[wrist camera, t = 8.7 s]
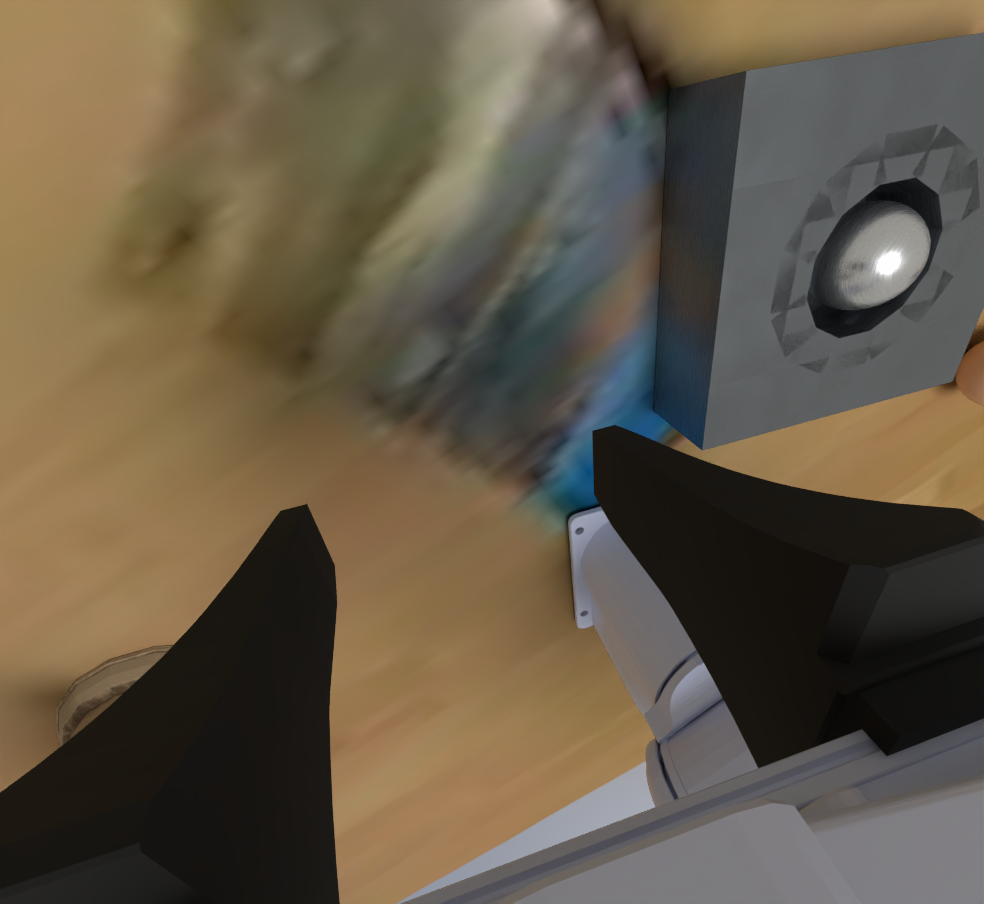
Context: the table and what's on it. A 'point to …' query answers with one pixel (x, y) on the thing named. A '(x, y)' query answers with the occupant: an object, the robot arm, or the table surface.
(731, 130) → the bearing housing
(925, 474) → the table surface
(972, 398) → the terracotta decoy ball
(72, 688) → the lantern
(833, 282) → the steel ball
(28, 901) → the robot arm
